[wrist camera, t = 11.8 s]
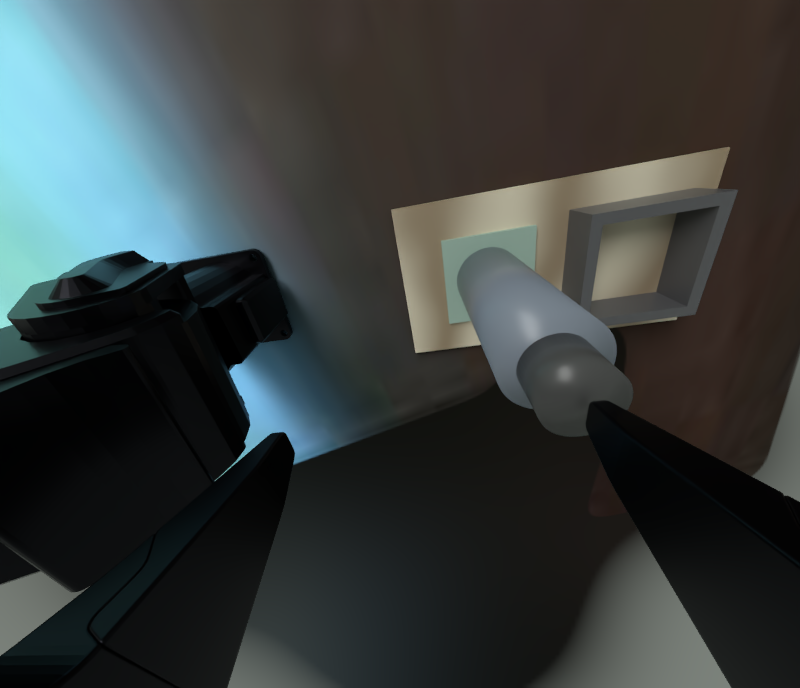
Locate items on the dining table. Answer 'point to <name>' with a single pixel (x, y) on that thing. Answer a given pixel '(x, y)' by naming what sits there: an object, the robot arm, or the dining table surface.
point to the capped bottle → (540, 342)
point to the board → (546, 235)
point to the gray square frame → (684, 260)
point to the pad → (460, 249)
